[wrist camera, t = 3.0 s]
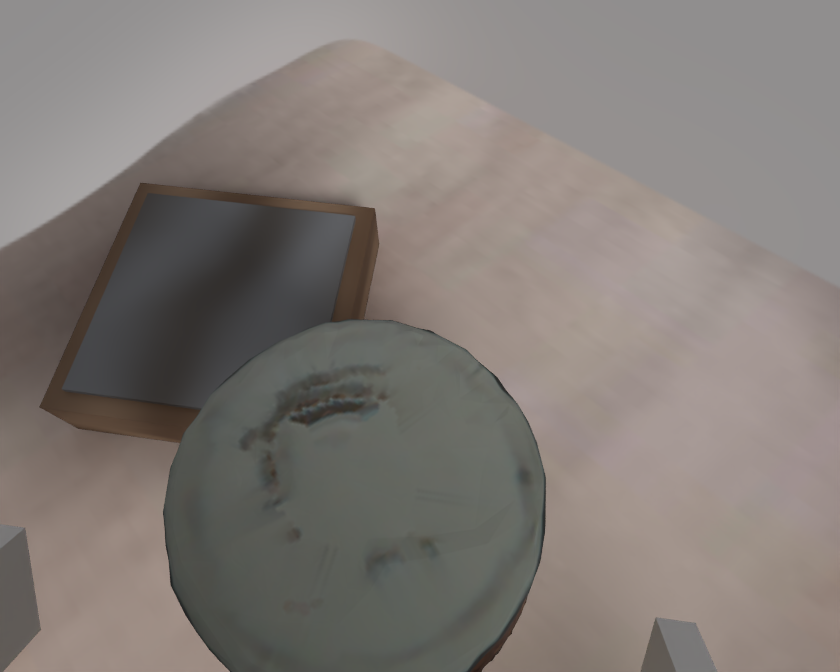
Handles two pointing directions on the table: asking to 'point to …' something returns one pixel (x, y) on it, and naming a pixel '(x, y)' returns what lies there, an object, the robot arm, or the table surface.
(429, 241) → the table surface
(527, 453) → the sauce bottle
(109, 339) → the pedestal
